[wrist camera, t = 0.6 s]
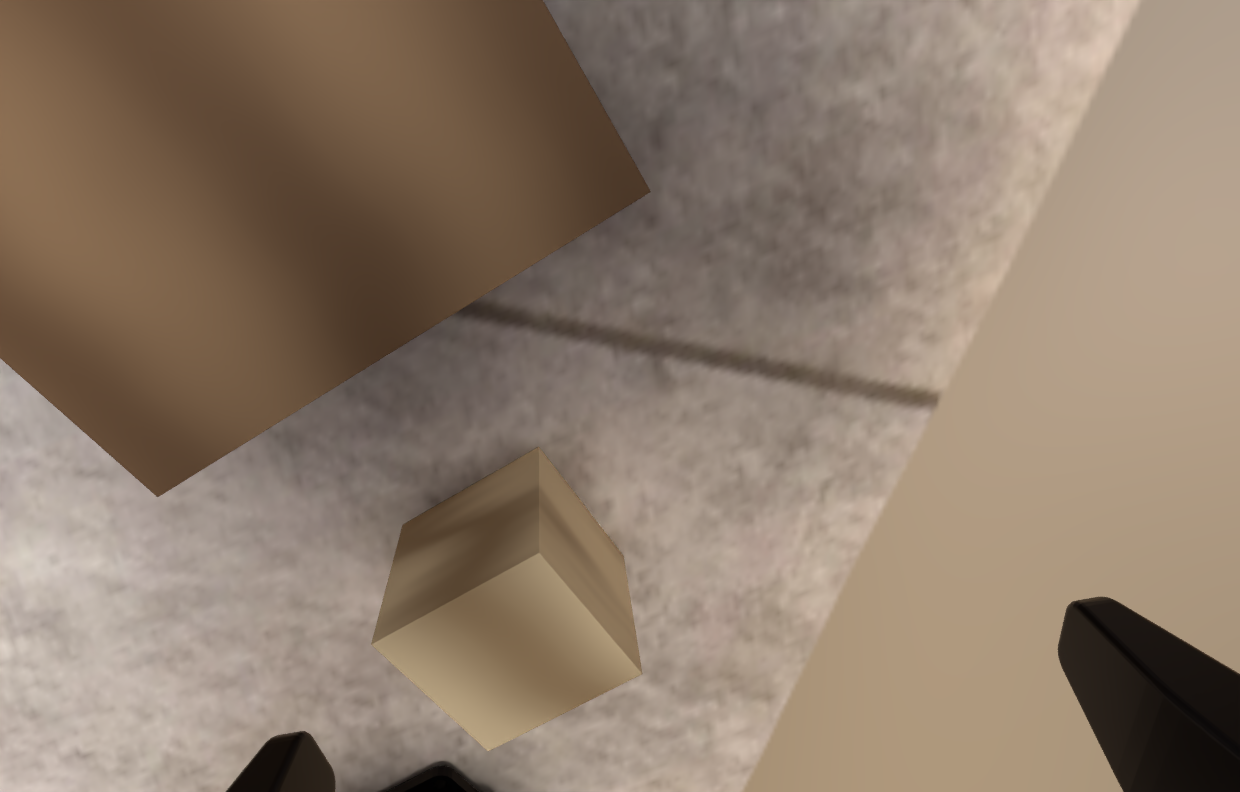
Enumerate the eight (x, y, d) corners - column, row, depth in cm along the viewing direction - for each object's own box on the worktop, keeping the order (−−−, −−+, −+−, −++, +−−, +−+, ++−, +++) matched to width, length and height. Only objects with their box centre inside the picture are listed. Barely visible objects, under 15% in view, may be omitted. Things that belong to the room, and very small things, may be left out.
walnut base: (206, 436, 21) (157, 497, 18) (-320, -72, 15) (-510, -92, 12) (634, 167, 19) (650, 191, 16) (224, -557, 13) (140, -712, 10)
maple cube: (496, 622, 25) (488, 751, 21) (403, 523, 23) (371, 644, 19) (623, 554, 24) (642, 673, 20) (538, 445, 22) (539, 553, 18)
